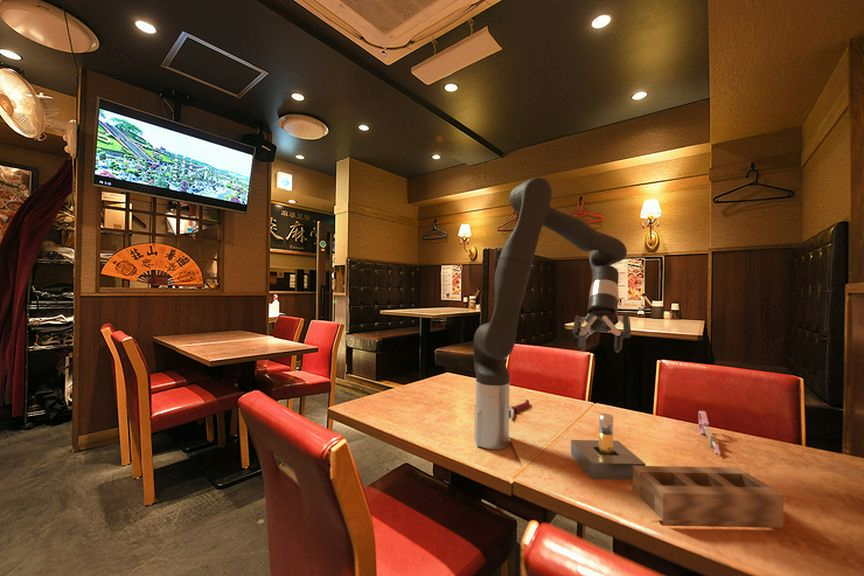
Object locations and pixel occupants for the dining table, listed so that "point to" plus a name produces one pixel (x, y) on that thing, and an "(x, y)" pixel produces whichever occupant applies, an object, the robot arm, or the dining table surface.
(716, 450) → the decorative key
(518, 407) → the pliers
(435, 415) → the dining table surface
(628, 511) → the dining table surface
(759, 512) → the vial rack
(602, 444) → the gold clear cylinder
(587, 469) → the socket block
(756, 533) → the dining table surface
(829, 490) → the dining table surface
